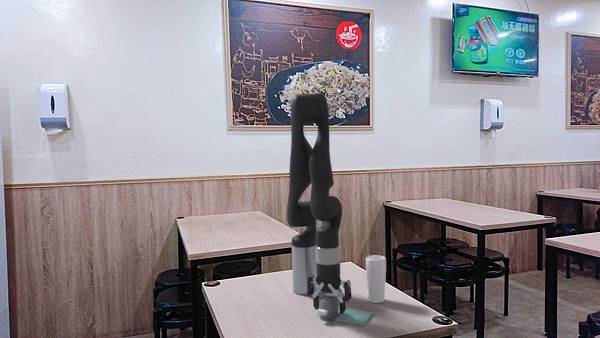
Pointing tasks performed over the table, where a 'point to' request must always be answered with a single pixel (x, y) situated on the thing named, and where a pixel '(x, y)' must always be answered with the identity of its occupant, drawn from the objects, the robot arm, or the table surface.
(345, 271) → the table surface
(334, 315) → the grey lobed figure
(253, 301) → the table surface
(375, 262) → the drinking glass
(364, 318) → the mat
